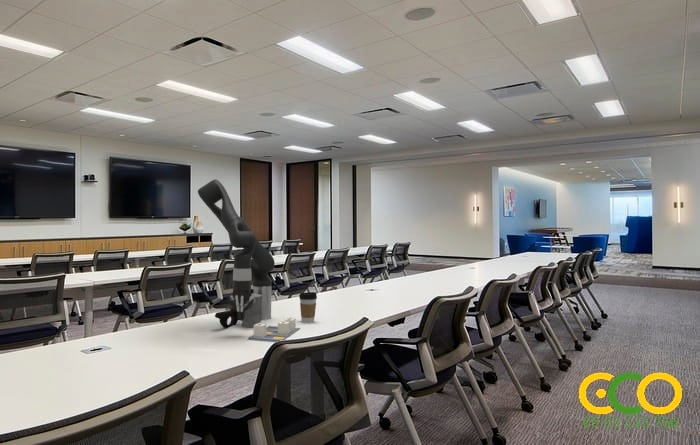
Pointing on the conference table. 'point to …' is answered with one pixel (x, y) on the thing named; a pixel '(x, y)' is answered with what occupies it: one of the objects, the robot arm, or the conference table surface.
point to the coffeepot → (253, 312)
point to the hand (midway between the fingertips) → (241, 320)
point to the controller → (225, 315)
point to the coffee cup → (308, 306)
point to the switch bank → (272, 335)
